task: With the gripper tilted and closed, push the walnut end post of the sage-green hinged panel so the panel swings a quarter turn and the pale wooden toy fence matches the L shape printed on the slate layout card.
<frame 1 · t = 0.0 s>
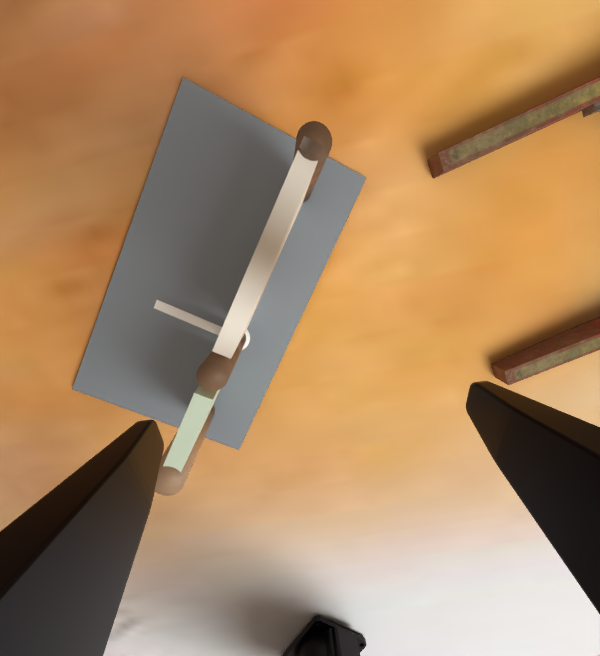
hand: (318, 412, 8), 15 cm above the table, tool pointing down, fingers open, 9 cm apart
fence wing: (201, 411, 19), point 5 cm above the table, hinge at 0.0°
fence section: (236, 337, 23), resting on layout card
layout card: (215, 286, 22), on the table
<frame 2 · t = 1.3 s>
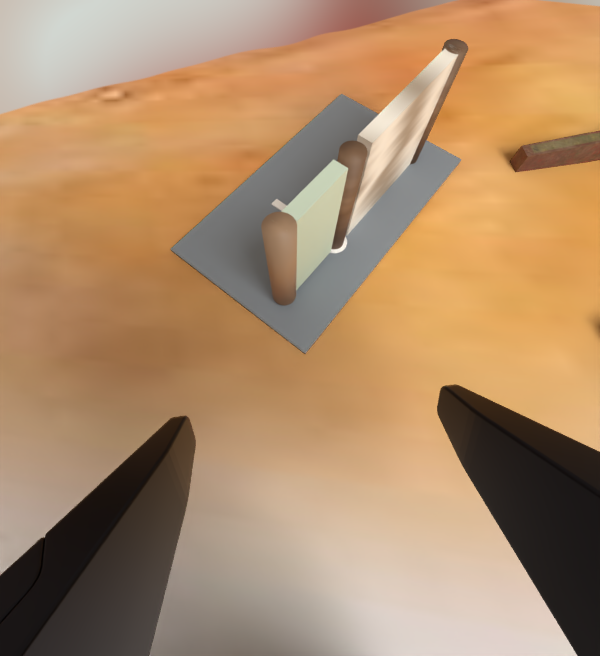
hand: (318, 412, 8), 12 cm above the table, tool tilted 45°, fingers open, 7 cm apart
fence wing: (303, 244, 19), point 5 cm above the table, hinge at 0.0°
fence section: (333, 241, 24), resting on layout card
layout card: (326, 203, 26), on the table
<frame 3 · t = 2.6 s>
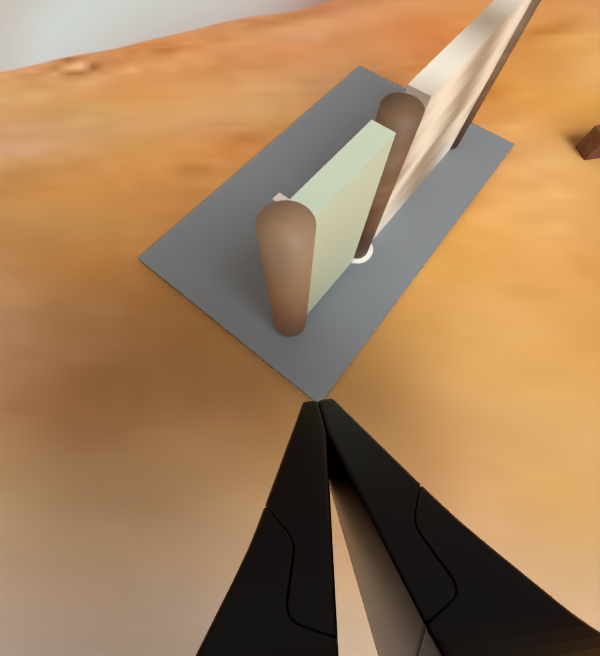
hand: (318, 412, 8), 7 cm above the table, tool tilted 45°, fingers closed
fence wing: (319, 253, 13), point 5 cm above the table, hinge at 0.0°
fence section: (355, 248, 18), resting on layout card
layout card: (343, 198, 20), on the table
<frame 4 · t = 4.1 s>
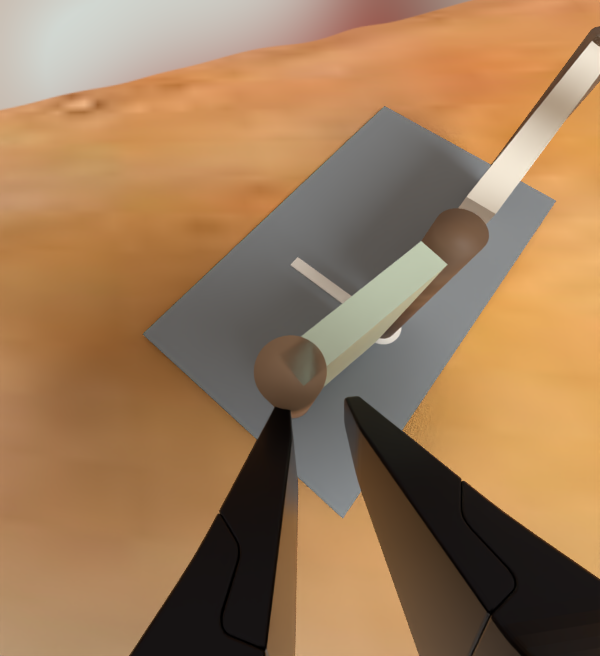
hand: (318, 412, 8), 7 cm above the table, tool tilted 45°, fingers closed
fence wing: (335, 353, 11), point 5 cm above the table, hinge at 10.7°, touching gripper
fence section: (381, 325, 17), resting on layout card
layout card: (367, 263, 18), on the table
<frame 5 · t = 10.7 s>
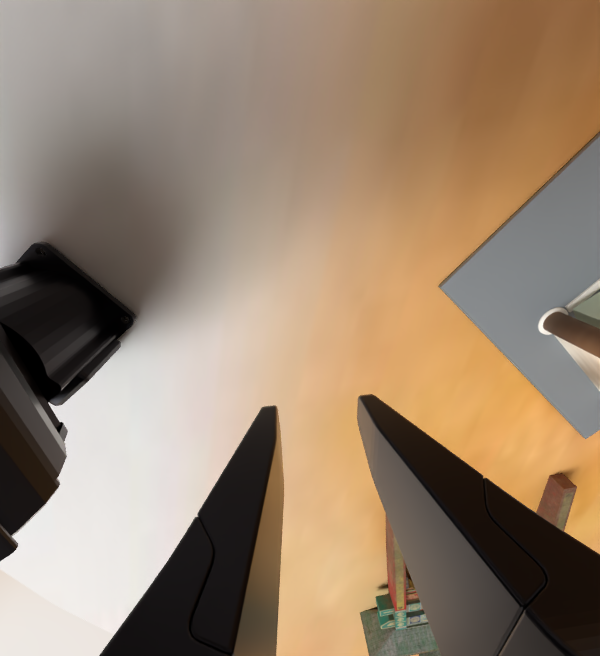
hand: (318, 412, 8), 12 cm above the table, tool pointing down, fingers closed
fence section: (552, 321, 22), resting on layout card
miniature gate: (456, 558, 38), on the table
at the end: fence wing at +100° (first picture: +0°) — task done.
